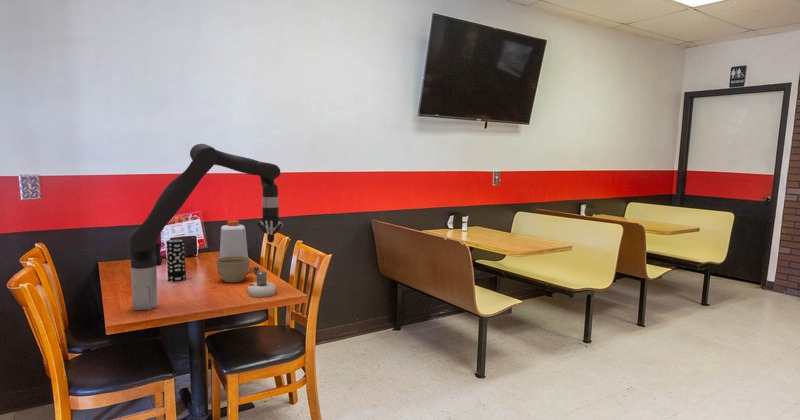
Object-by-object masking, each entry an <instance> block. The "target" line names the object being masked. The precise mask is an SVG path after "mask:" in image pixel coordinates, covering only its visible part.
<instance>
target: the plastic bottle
mask: <svg viewBox="0 0 800 420" xmlns="http://www.w3.org/2000/svg"><path fill="white" fill-rule="evenodd" d="M229 256H243V257H248V258H249V254H248V240H247V231H246V226H245V225H244V224H240V220H235V219H234V220H233V219H231V220H227V221H226V224H225V225H222V226H221V227H220V242H219V258H222V257H229ZM249 272H250V267H249V268H248V271H247V273H249Z"/></svg>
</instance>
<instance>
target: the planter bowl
mask: <svg viewBox="0 0 800 420" xmlns="http://www.w3.org/2000/svg"><path fill="white" fill-rule="evenodd" d="M250 261H251V259H250V258H249V256H248V257H243V256H229V257H222V258H220V257H219V258H217V259H216V261H215V263H216V267H217V272H218V273H219V275H220V277H221V278H222V279H223V282H225V283H238V282H242V281H244V277H245V276H246V275H247V274H248V272H249V271H248V268H249V269H250ZM247 271H248V272H247Z"/></svg>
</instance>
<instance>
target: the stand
mask: <svg viewBox="0 0 800 420" xmlns="http://www.w3.org/2000/svg"><path fill="white" fill-rule="evenodd" d="M247 295H248V296H249V297H252V298H258V299H260V298H268V297H271V296H274V295H276V283H275V282H271V281H267V285H265V286H257V281H256V282H252V283H248V286H247Z"/></svg>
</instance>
